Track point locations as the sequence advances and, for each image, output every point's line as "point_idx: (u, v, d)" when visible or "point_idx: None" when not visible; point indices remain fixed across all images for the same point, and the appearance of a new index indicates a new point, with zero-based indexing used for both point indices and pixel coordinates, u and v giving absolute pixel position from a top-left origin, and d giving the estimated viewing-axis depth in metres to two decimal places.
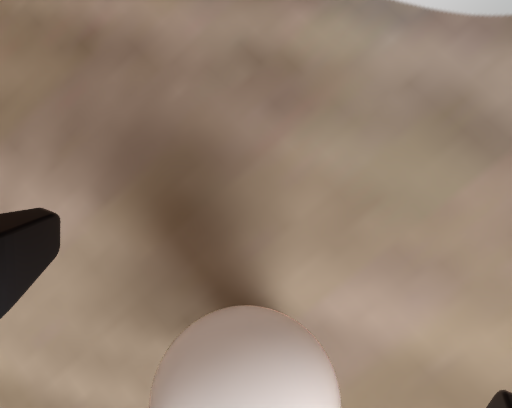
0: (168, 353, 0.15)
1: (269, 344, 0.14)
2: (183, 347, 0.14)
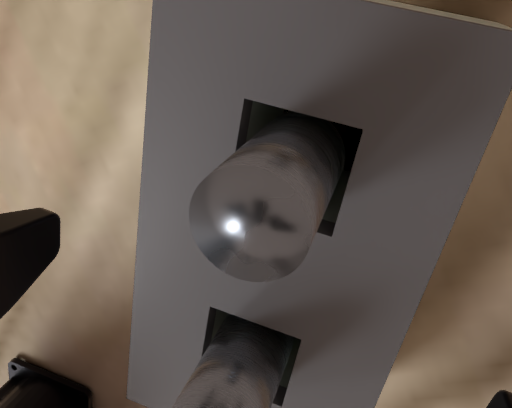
0: None
1: None
2: None
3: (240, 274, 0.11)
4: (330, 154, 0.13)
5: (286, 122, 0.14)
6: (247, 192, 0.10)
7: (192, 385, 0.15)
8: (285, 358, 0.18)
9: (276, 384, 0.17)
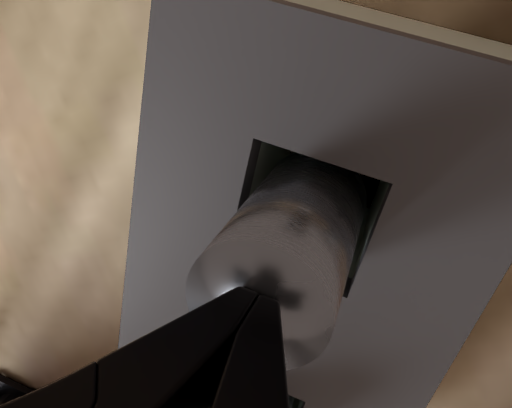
0: None
1: None
2: None
3: None
4: (353, 208, 0.11)
5: (303, 167, 0.12)
6: (258, 271, 0.09)
7: None
8: None
9: None
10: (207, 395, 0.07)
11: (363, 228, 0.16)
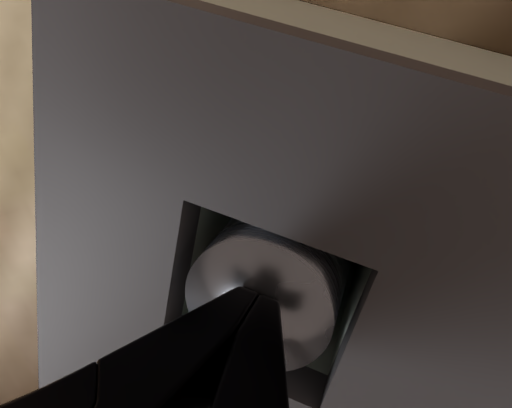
0: None
1: None
2: None
3: None
4: None
5: None
6: (257, 272, 0.09)
7: None
8: None
9: None
10: (207, 395, 0.07)
11: (347, 291, 0.13)
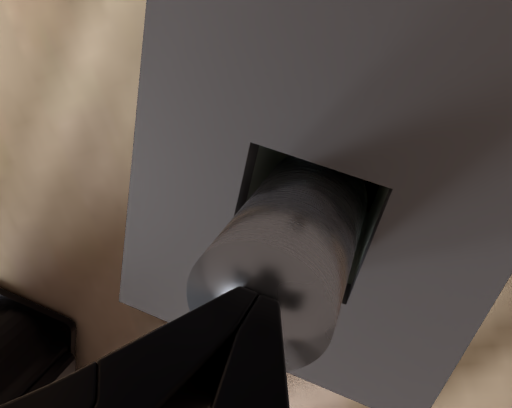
0: None
1: None
2: None
3: None
4: None
5: None
6: None
7: (236, 222, 0.10)
8: (361, 219, 0.12)
9: (355, 245, 0.11)
10: (207, 395, 0.07)
11: None
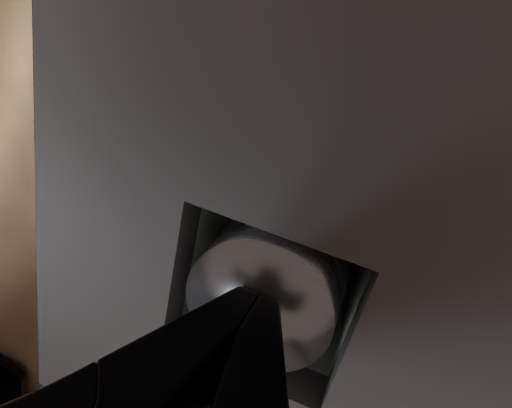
0: None
1: None
2: None
3: None
4: None
5: None
6: None
7: (235, 223, 0.10)
8: None
9: None
10: (207, 395, 0.07)
11: None
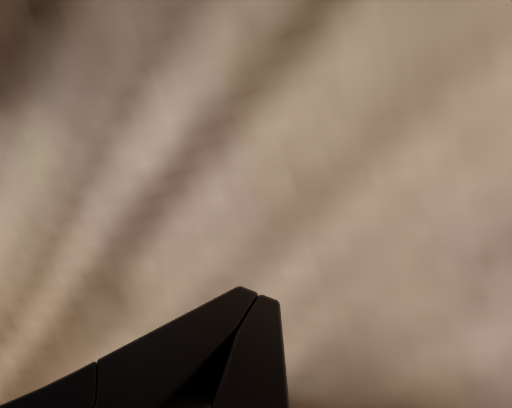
0: None
1: None
2: None
3: None
4: None
5: None
6: None
7: None
8: None
9: None
10: (207, 395, 0.07)
11: None
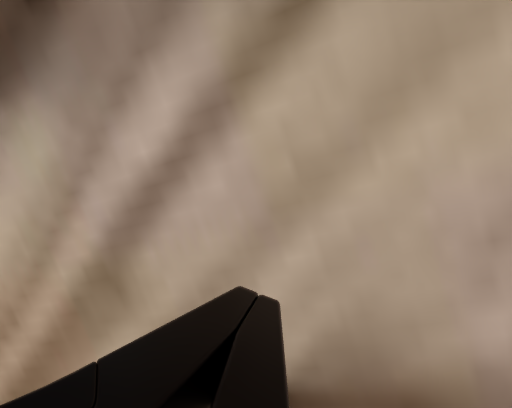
0: None
1: None
2: None
3: None
4: None
5: None
6: None
7: None
8: None
9: None
10: (207, 395, 0.07)
11: None
